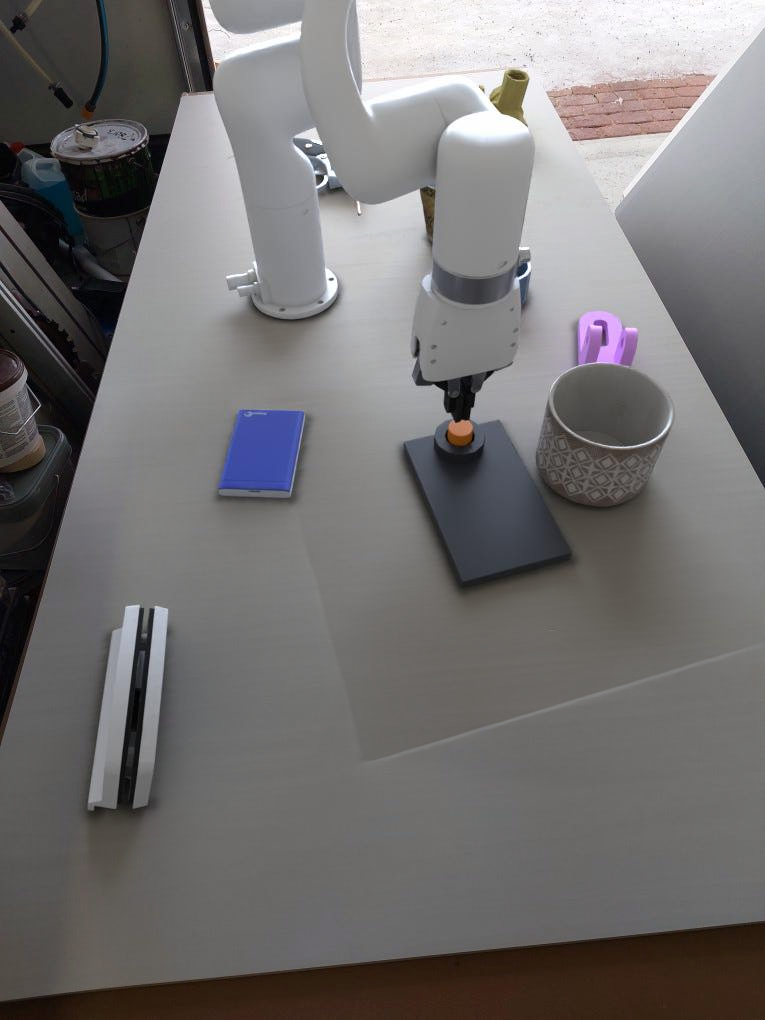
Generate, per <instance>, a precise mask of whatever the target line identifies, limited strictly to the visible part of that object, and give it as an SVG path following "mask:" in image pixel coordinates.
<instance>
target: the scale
mask: <svg viewBox="0 0 765 1020" xmlns="http://www.w3.org/2000/svg"><path fill="white" fill-rule="evenodd" d="M453 420H454V419H453V418H450V419H446V420H444V421H442V423H440V424H439V425H438V426H436V428H435V433H434V434H431V435H427V436H423V437H419V438H414V439H410V440H406V441H403V451H404V454H405V455H406V459H407V461H408V464H409V466H410V468H411V471H412V474H413V476H414V478H415V480H416V483H417V485H418V487H419V490H420V492H421V495H422V497H423V500H424V502H425V505H426V507H427V509H428V513H429V514H430V516H431V519H432V521H433V524H434V526H435V528H436V531H437V533H438V535H439V538H440V541H441V543H442V545H443V548H444V550H445V552H446V556H447V557H448V560H449V562H450V565H451V567H452V569H453V572H454V574H455V577H456V579H457V581H458V583H459V586H460V589H466V588H470V587H475V586H478V585H481V584H485V583H489V582H492V581H496V580H501V579H505V578H507V577H511V576H514V575H518V574H522V573H526V572H529V571H533V570H537V569H540V568H545V567H548V566H552V565H555V564H558V563H562V562H566V561H569V560H571V557H572V554H573V551H572V549H571V547H570V546H569V544H568V541H566V538H565V536H564V535H563V533H562V532H561V529H560V528H559V526H558V524H557V522H556V520H555V519H554V517H553V514H552V513H551V511H550V509H549V507H548V506H547V504H546V502H545V500H544V498H543V497H542V495H541V493H540V491H539V489H538V488H537V485H536V484H535V482H534V481H533V478H532V477H531V475H530V473H529V471H528V470H527V468H526V466H525V464H524V462H523V460H522V459H521V456H520V455H519V453H518V451H517V449H516V448H515V446H514V444H513V442H512V439H510V436H509V435H508V432H507V431H506V429H505V428H504V426H503V423H502V422H501V420H500V419H495V420H491V421H486V422H482V423H477V422H476V421H474V420H472V419H470V420H468V421H469V422H470V423H471V424H472V426H473V434H472V440H471V442H470V443H469V444H468V445H466V446H462V447H459V446H454V445H452V444H451V443H450V442H449V441H448V426H449V424H450V422H451V421H453Z"/></svg>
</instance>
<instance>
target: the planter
mask: <svg viewBox="0 0 765 1020" xmlns="http://www.w3.org/2000/svg"><path fill="white" fill-rule="evenodd" d="M675 417H676V409H675V404H674V402H673V399H672V397H671V395H670V394H669V393H668V391H667V390H666V388H665V387H664V386H663V385H662V384H661V383H660V382H659V381H657V380H656V379H655V378H653V377H652V376H650V375H649V374H647V373H646V372H643V371H641V370H639V369H637V368H634V367H632V366H631V367H628V366H624V365H620V364H614V363H589V364H584V365H580V366H579V365H577V366H575V367H574V366H573V367H572V368H569V369H568V370H566V371H564V372H563V373H561V374H560V375H559V376H558V377H557V378H556V379H555V380H554V382H553V383H552V385H551V387H550V389H549V393H548V396H547V402H546V406H545V411H544V415H543V419H542V424H541V428H540V433H539V437H538V441H537V446H536V451H535V464H536V467H537V471H538V472H539V475H540V476H541V479H543V481H544V482H545V483H546V484H547V486H548V487H549V488H550V489H552V490H553V491H554V492H555V493H556V494H558V495H560V496H561V497H562V498H565V499H566V500H567V499H568V500H569V501H571V502H573V503H577V504H581V505H585V506H590V507H612V506H617V505H621V504H623V503H626V502H628V501H630V500H632V499H633V498H635V497H636V496H638V495H639V494H640V493H641V492H642V491H643V489H644V488H645V487H646V485H647V483H648V482H649V479H650V477H651V475H652V473H653V470H654V468H655V466H656V464H657V461H658V459H659V457H660V454H661V452H662V450H663V448H664V446H665V443H666V441H667V439H668V436H669V434H670V432H671V430H672V427H673V425H674V422H675V420H676V419H675Z"/></svg>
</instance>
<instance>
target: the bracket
mask: <svg viewBox="0 0 765 1020" xmlns="http://www.w3.org/2000/svg"><path fill="white" fill-rule="evenodd" d="M603 331H604V334H605V345H604V346H603V345H602V342H603V341H602V340H603ZM576 333H577V356H578V357H577V358H578V366H580V365H584V364H589V363H614V364H620V365H624V366H628V367H631V368H632V364H633V360H634V358H635V355H636V351H637V349H638V340H639V330H638V327H637V328H636V327H623V324H622V321H621V320H620V318H618V317H617V316H616V315H615V314H614V313H611V312H608V311H602V310H592V311H589V312H588V311H587V312H586V313H584V314H583V315H581V316H580V318H579V321H578V326H577V330H576Z"/></svg>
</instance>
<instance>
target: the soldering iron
mask: <svg viewBox="0 0 765 1020" xmlns="http://www.w3.org/2000/svg"><path fill="white" fill-rule="evenodd" d="M292 141H293V144H294V145H295V146H296V147H297V148H298V149H300V150H301V151H302V152H303V153H304V154H305V155H306V156H307V157H308V159H309V160H310V162H311V164H312V166H313V169H314V172H315V177H317V176H321V177H323V181H322V182H321V183H320V184H319V185H316V186H317V193H320V192H322V191H324V190H325V189H326V188H327V187H329V190H333V189H336V188H343V187H342V186H341V184H340V183H339V181H338V179H337V177H336V175H335V174H334V171H333V169H332V167H331V165H330V163H329V161H328V158H327V155H326V153H325V151H324V148H323V146H322V143H321V140H316V139H309V138H302V137H294V138H293V140H292ZM354 204H355V209H356V213H357V216H358V217H361V215H362V210H361V203H360V202H358V201H356V200H355V199H354Z"/></svg>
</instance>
